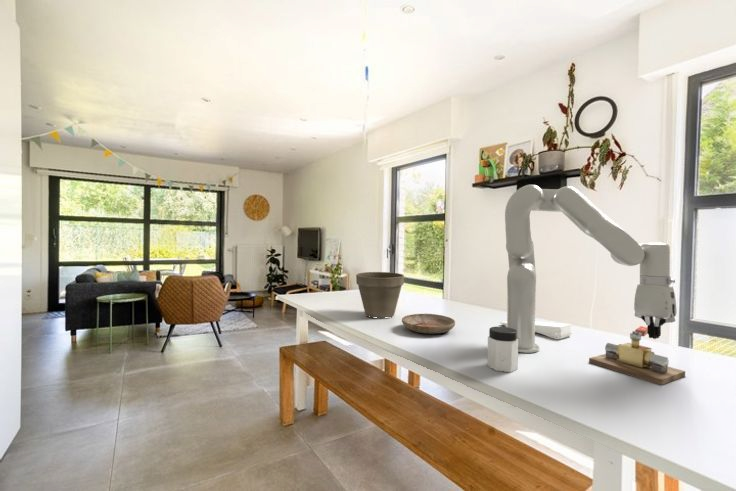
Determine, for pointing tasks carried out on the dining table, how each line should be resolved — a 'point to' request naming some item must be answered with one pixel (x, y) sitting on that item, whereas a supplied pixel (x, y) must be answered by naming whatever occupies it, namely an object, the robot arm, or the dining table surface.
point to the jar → (503, 349)
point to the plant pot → (379, 292)
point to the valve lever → (639, 333)
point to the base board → (638, 370)
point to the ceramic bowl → (428, 323)
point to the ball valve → (637, 356)
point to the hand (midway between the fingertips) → (654, 337)
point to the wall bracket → (551, 329)
